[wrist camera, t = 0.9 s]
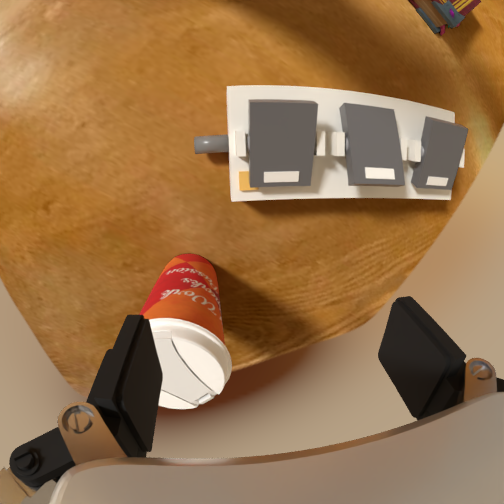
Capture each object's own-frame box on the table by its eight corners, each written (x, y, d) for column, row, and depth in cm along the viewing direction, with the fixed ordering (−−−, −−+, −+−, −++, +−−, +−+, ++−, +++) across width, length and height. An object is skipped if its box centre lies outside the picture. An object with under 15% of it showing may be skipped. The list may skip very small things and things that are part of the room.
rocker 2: (422, 114, 21) (432, 120, 20) (459, 123, 21) (469, 129, 20) (408, 180, 26) (416, 188, 24) (444, 183, 26) (452, 190, 25)
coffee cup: (242, 280, 32) (257, 380, 19) (191, 321, 34) (179, 424, 20) (188, 226, 30) (161, 305, 16) (138, 275, 31) (92, 368, 17)
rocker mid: (337, 109, 23) (343, 102, 21) (387, 114, 23) (395, 109, 21) (346, 186, 23) (353, 183, 22) (397, 187, 24) (406, 185, 22)
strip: (195, 95, 25) (187, 84, 19) (433, 112, 27) (467, 112, 21) (200, 194, 28) (194, 210, 23) (430, 192, 31) (462, 204, 25)
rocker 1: (246, 98, 20) (248, 102, 19) (313, 100, 20) (319, 104, 19) (247, 179, 24) (248, 188, 23) (307, 177, 25) (311, 186, 24)
